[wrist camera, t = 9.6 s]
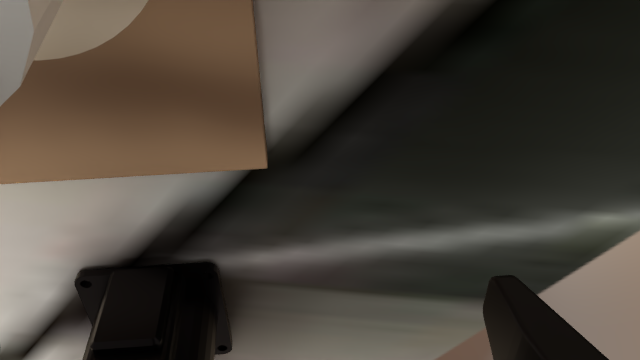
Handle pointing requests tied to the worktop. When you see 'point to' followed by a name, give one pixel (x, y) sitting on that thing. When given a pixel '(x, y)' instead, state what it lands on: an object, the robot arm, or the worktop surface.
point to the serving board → (138, 93)
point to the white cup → (21, 38)
